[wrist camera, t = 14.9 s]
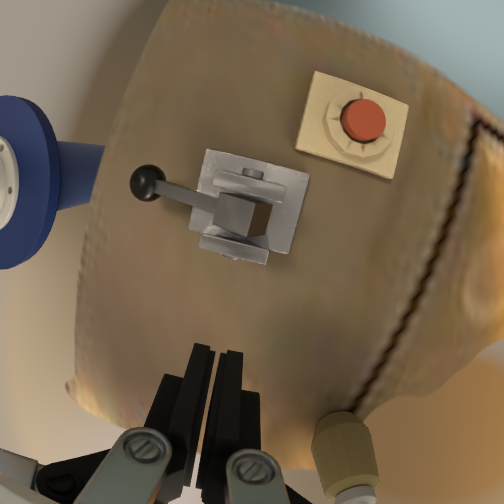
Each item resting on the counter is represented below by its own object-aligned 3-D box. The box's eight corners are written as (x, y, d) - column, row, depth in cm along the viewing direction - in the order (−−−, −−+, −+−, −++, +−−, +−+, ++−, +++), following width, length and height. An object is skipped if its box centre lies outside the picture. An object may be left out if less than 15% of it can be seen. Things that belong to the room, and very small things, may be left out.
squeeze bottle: (375, 413, 37) (414, 513, 20) (339, 446, 39) (361, 544, 21) (332, 396, 36) (362, 512, 19) (296, 433, 38) (307, 542, 21)
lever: (147, 197, 28) (119, 196, 25) (154, 163, 27) (126, 160, 24) (266, 242, 22) (241, 245, 19) (278, 197, 21) (253, 194, 18)
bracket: (190, 227, 31) (152, 259, 20) (208, 149, 29) (177, 136, 18) (287, 251, 31) (301, 297, 20) (308, 173, 29) (337, 175, 18)
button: (338, 133, 25) (343, 131, 24) (346, 97, 25) (352, 93, 23) (374, 146, 26) (381, 145, 24) (382, 110, 25) (389, 107, 23)
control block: (293, 148, 29) (298, 146, 25) (312, 75, 27) (318, 64, 23) (386, 178, 29) (400, 179, 26) (402, 108, 27) (416, 102, 24)
